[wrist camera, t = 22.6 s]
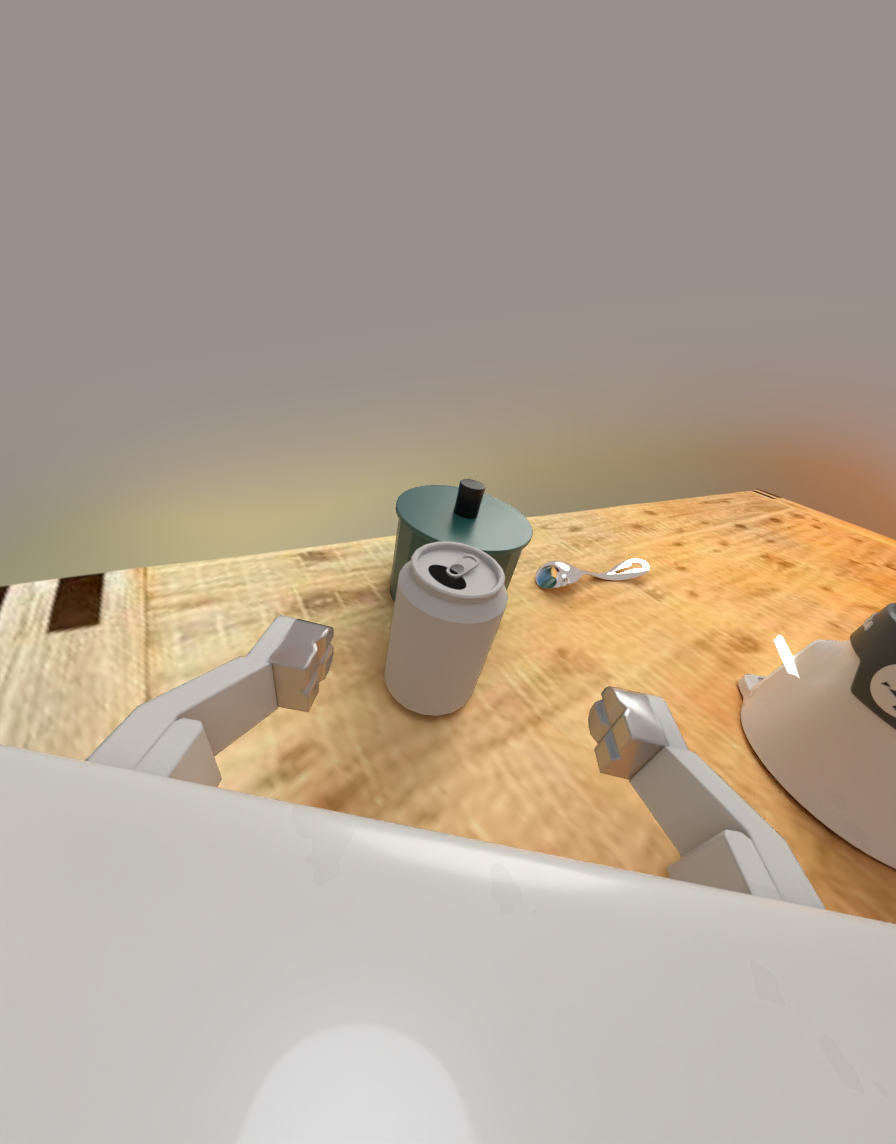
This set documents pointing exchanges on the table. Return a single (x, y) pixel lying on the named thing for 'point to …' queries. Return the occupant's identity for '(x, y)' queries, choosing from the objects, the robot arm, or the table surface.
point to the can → (443, 626)
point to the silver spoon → (584, 573)
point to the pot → (411, 542)
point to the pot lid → (464, 517)
